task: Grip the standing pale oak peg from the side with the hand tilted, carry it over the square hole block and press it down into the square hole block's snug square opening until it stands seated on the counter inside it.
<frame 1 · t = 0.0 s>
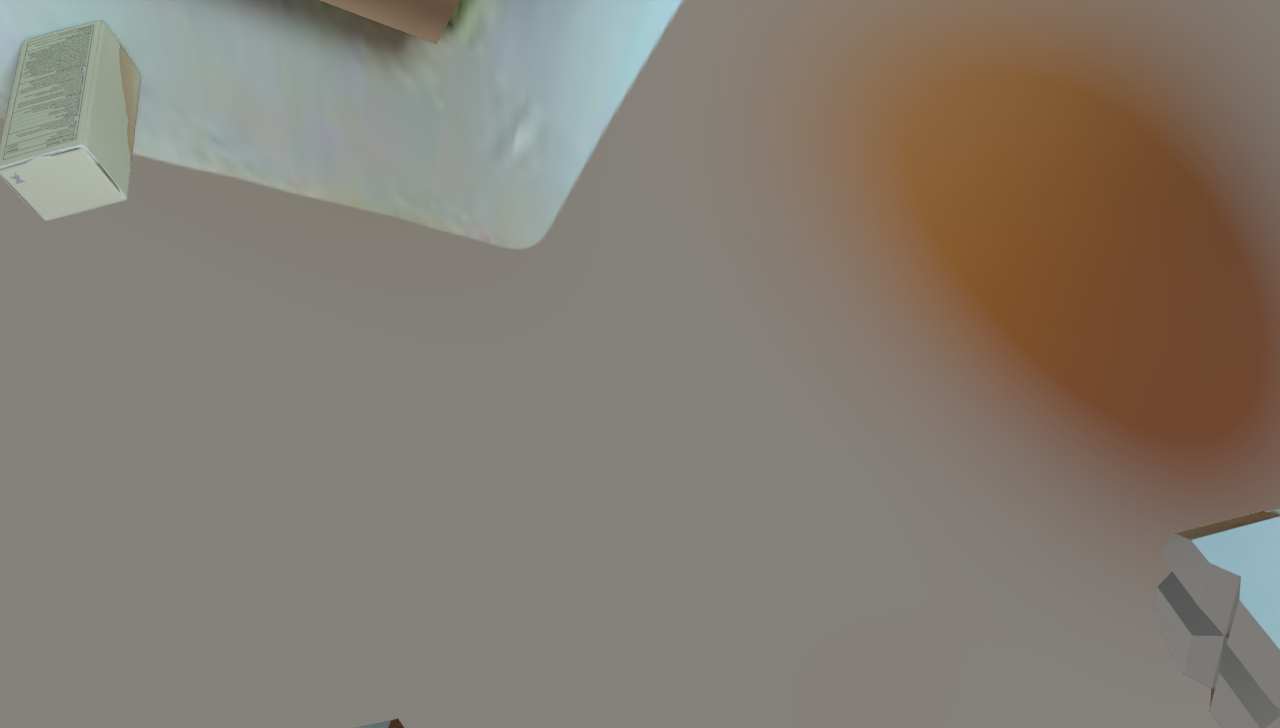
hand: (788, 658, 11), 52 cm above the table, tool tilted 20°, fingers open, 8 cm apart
box: (85, 55, 60), on the table
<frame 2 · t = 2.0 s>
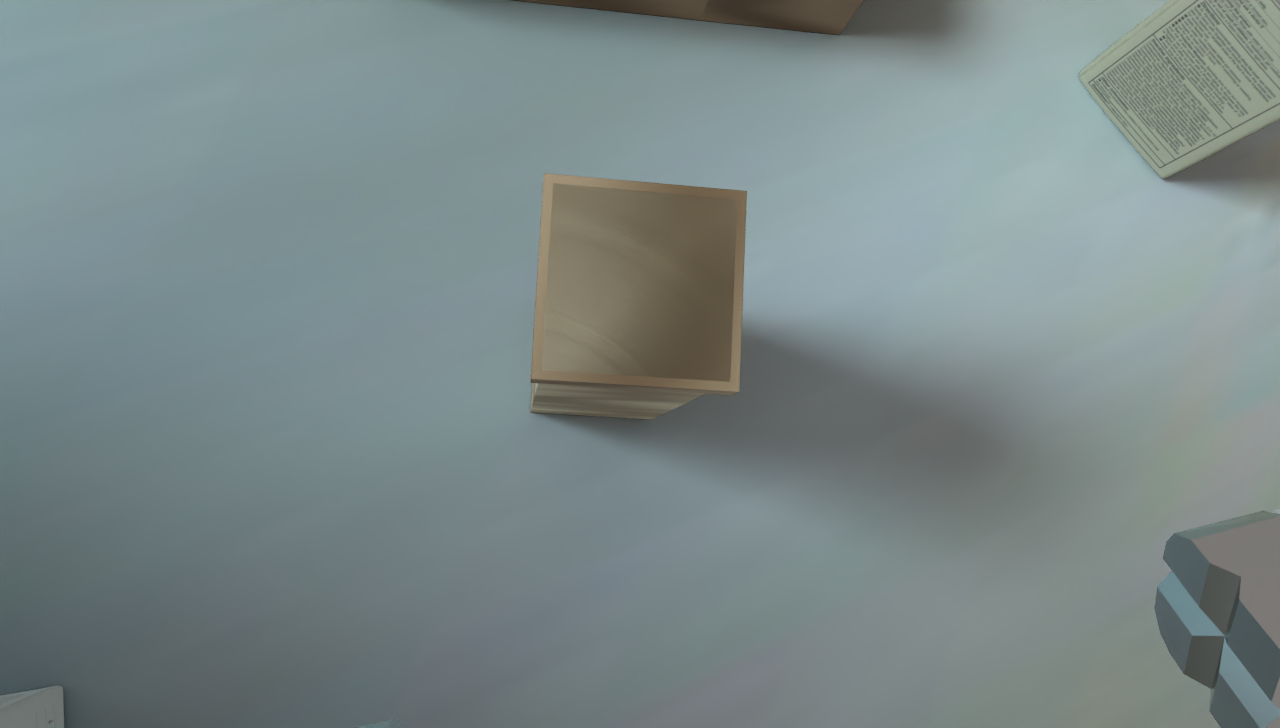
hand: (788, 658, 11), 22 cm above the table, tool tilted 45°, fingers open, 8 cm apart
peg: (595, 355, 33), on the table
box: (1150, 97, 37), on the table
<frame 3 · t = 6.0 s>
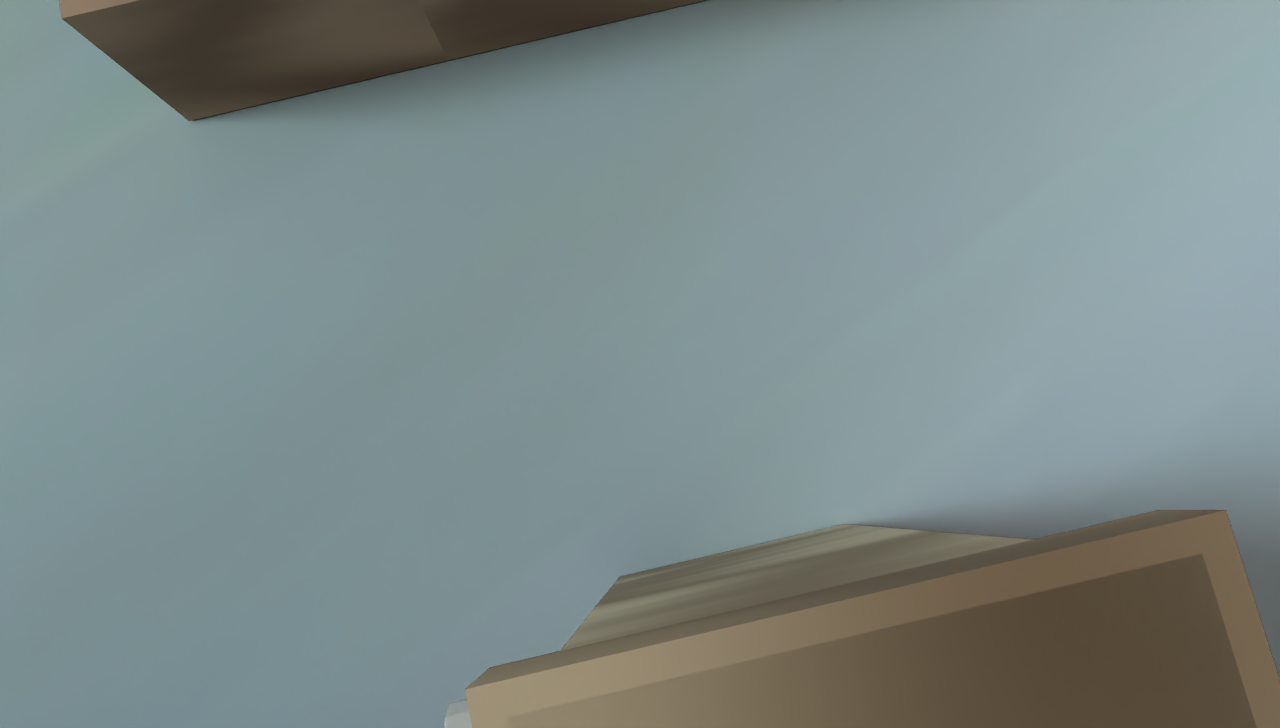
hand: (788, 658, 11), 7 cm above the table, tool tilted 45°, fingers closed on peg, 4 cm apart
peg: (759, 666, 17), on the table, touching gripper
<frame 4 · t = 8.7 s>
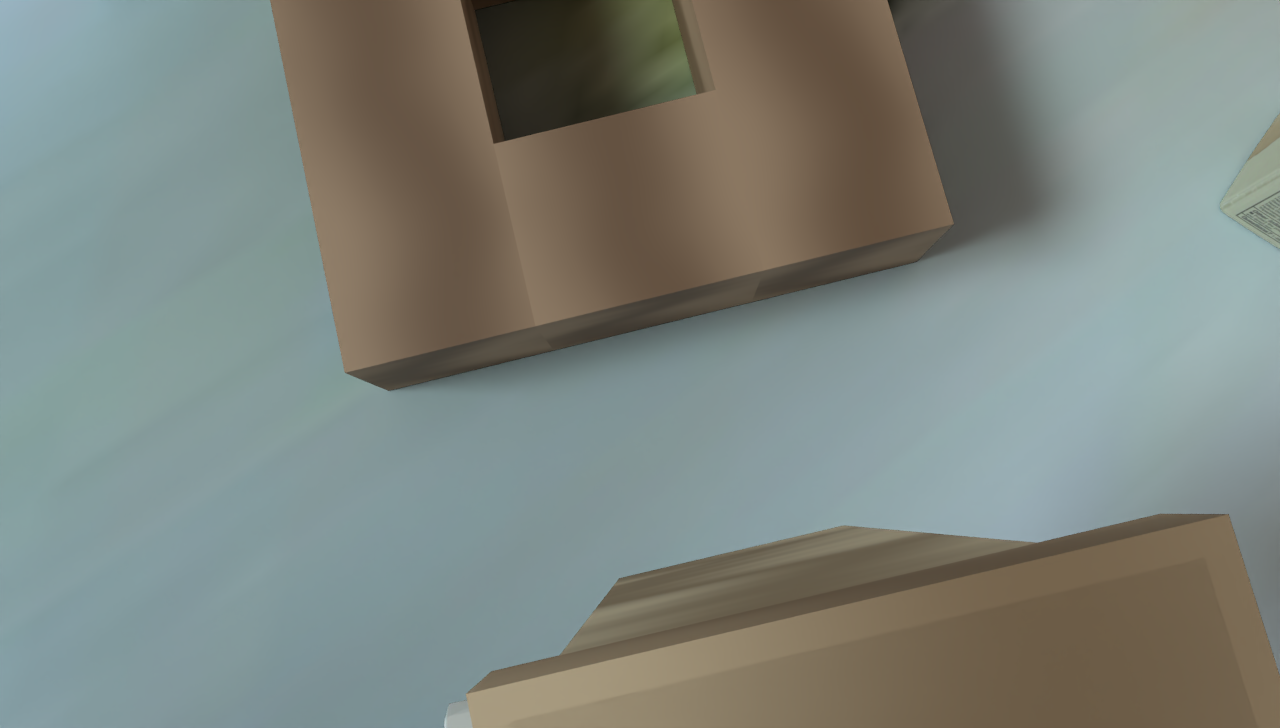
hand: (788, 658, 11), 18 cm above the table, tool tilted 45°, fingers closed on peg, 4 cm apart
peg: (759, 668, 17), point 11 cm above the table, touching gripper
square hole block: (590, 76, 31), on the table
when the fingers open (8 cm above the table, at t = 11.8 s): peg drops 1 cm, resting in square hole block.
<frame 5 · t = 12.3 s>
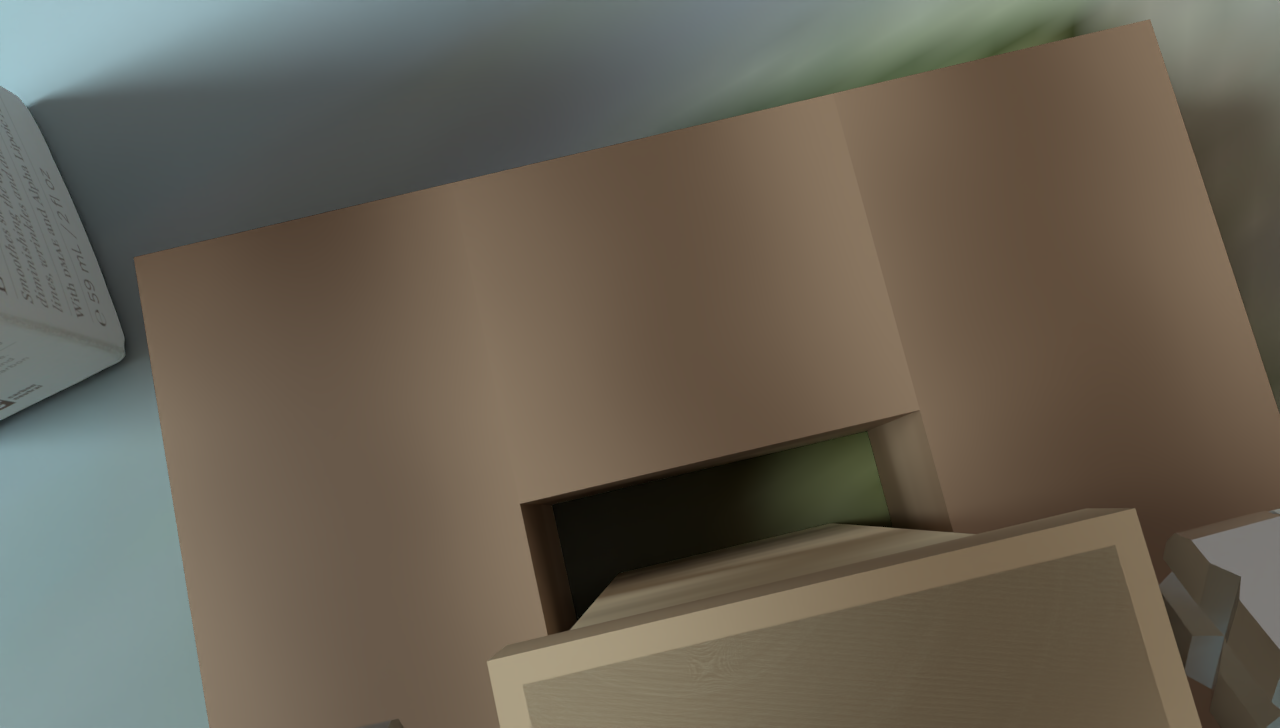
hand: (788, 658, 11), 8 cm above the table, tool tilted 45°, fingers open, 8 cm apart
peg: (751, 657, 18), resting in square hole block
square hole block: (748, 630, 18), on the table
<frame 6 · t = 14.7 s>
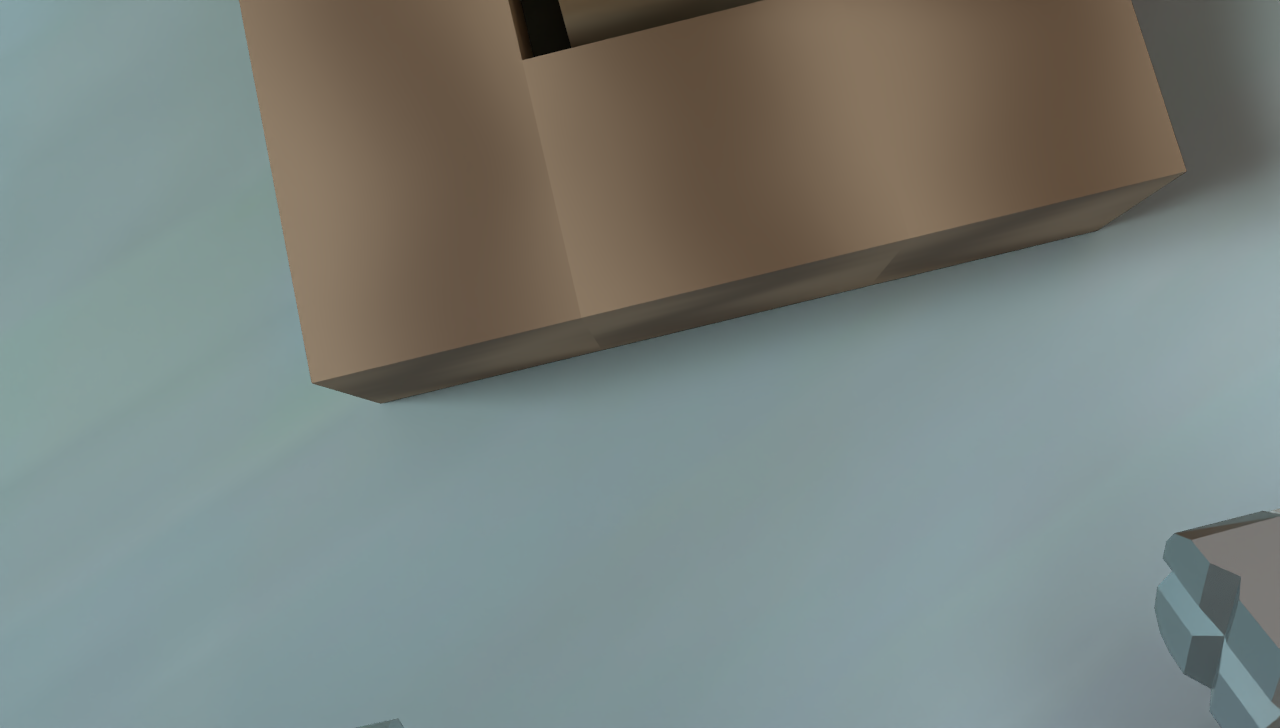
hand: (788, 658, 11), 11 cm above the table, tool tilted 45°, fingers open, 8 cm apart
peg: (653, 3, 23), resting in square hole block
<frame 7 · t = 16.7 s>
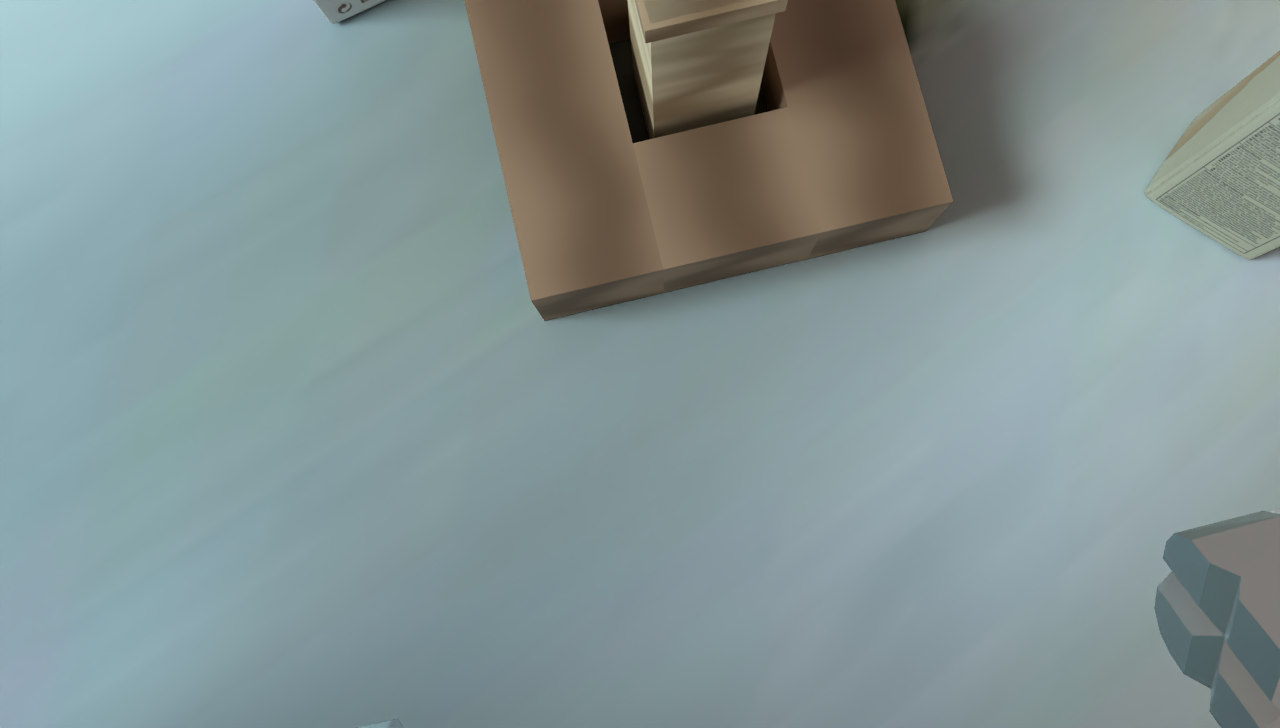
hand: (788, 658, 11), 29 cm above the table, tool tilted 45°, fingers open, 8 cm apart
peg: (690, 106, 42), resting in square hole block
box: (1215, 188, 41), on the table
square hole block: (689, 94, 42), on the table
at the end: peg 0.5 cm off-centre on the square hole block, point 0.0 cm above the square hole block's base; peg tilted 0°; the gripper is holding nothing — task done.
